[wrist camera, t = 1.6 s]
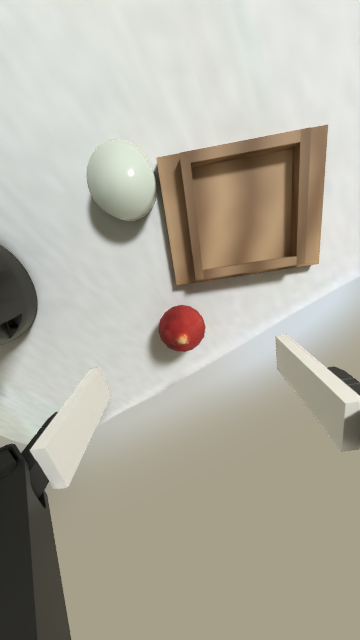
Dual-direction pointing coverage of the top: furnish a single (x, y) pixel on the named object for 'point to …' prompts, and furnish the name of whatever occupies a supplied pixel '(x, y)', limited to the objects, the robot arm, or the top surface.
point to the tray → (245, 205)
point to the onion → (181, 328)
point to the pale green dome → (122, 180)
